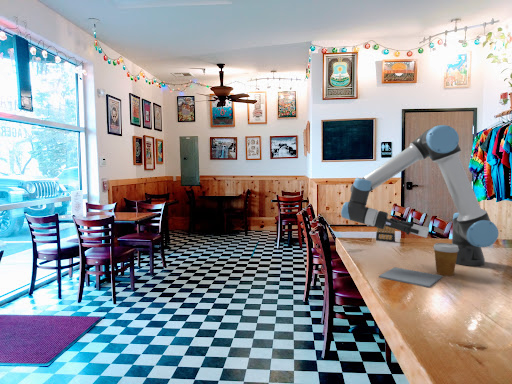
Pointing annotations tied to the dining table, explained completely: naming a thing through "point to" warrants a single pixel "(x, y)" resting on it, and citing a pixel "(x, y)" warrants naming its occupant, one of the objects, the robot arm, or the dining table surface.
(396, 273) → the mat
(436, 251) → the disposable coffee cup
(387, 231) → the ammunition clip
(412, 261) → the dining table surface
